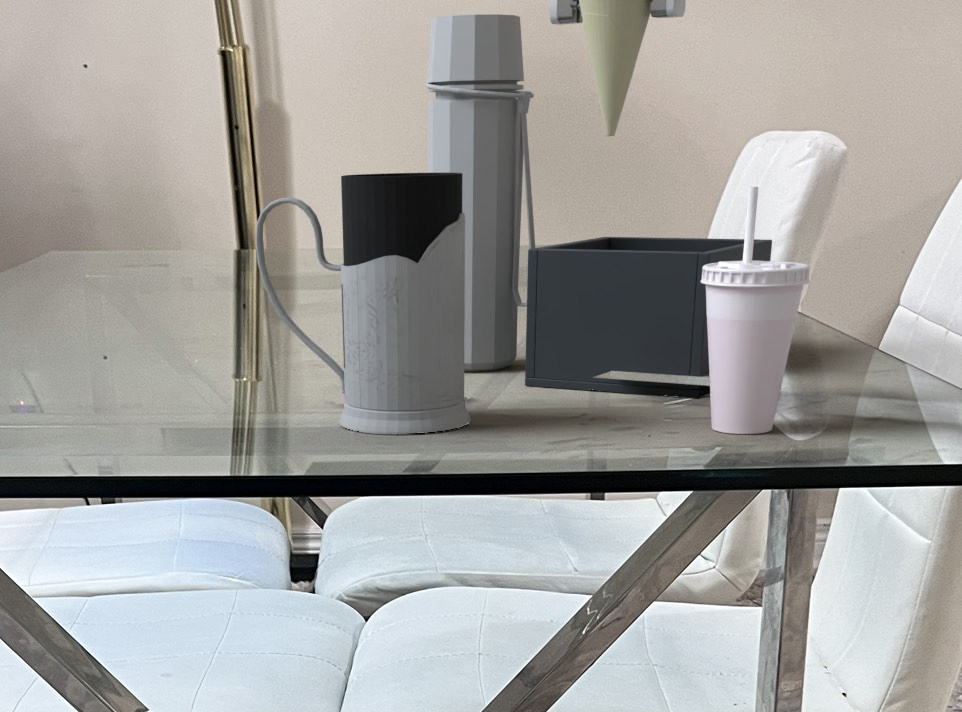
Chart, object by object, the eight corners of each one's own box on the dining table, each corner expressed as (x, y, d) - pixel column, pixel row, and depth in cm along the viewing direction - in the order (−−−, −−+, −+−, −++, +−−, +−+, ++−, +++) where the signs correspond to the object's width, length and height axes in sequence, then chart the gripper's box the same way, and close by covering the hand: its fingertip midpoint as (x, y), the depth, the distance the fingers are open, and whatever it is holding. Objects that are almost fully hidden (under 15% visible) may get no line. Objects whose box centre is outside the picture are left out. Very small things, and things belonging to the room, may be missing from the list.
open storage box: (760, 371, 109) (772, 239, 105) (698, 398, 98) (709, 253, 94) (598, 361, 115) (604, 236, 111) (524, 385, 105) (527, 248, 101)
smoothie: (714, 415, 92) (732, 185, 86) (809, 424, 89) (835, 184, 83) (673, 432, 87) (689, 189, 82) (772, 442, 84) (796, 189, 78)
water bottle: (408, 369, 113) (404, 18, 103) (459, 357, 119) (461, 23, 108) (507, 378, 108) (514, 10, 98) (555, 364, 114) (567, 16, 104)
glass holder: (452, 436, 87) (453, 175, 81) (241, 428, 91) (226, 178, 85) (484, 412, 95) (487, 171, 89) (288, 405, 99) (277, 174, 93)
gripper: (837, -288, 73) (808, 12, 79) (489, -230, 83) (486, 33, 89) (802, -317, 69) (775, 5, 74) (437, -252, 78) (438, 28, 84)
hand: (615, 20), depth 82 cm, fingers closed on ice cream cone, 5 cm apart
